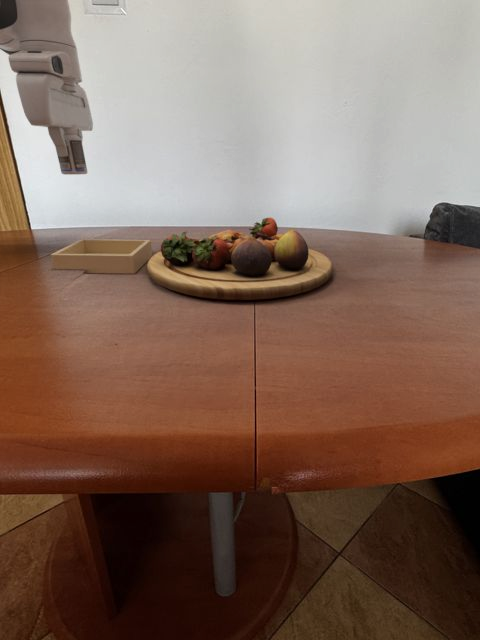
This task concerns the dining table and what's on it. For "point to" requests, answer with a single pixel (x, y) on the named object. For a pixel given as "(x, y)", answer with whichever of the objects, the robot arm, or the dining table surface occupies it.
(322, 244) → the dining table surface
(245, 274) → the wooden plate
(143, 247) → the tray
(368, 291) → the dining table surface
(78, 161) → the pill bottle
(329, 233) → the dining table surface
